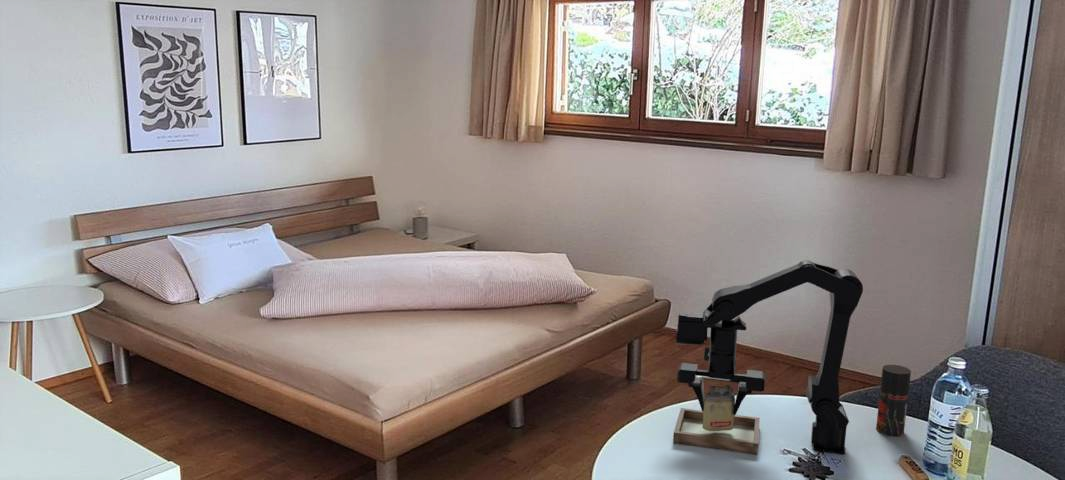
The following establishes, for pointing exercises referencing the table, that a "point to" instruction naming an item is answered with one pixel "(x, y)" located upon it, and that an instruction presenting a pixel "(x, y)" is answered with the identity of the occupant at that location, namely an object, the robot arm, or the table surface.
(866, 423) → the table surface
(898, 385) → the deodorant
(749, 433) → the tray
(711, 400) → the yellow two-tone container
